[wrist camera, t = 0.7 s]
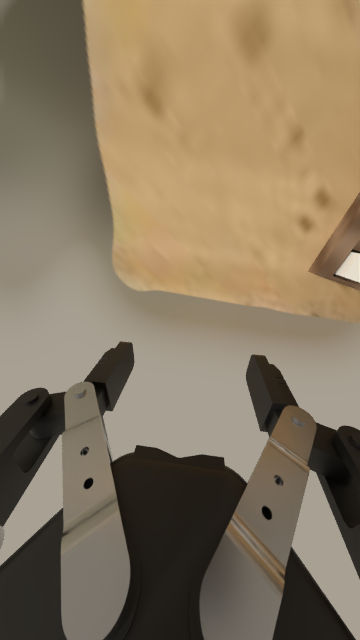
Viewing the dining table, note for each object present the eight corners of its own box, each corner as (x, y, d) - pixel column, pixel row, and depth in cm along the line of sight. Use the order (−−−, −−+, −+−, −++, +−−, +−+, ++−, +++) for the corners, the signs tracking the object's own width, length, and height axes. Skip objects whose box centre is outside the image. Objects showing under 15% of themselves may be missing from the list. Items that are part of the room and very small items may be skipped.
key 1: (348, 251, 28) (360, 253, 26) (368, 258, 29) (382, 261, 26) (332, 273, 30) (343, 276, 28) (351, 279, 30) (363, 284, 28)
